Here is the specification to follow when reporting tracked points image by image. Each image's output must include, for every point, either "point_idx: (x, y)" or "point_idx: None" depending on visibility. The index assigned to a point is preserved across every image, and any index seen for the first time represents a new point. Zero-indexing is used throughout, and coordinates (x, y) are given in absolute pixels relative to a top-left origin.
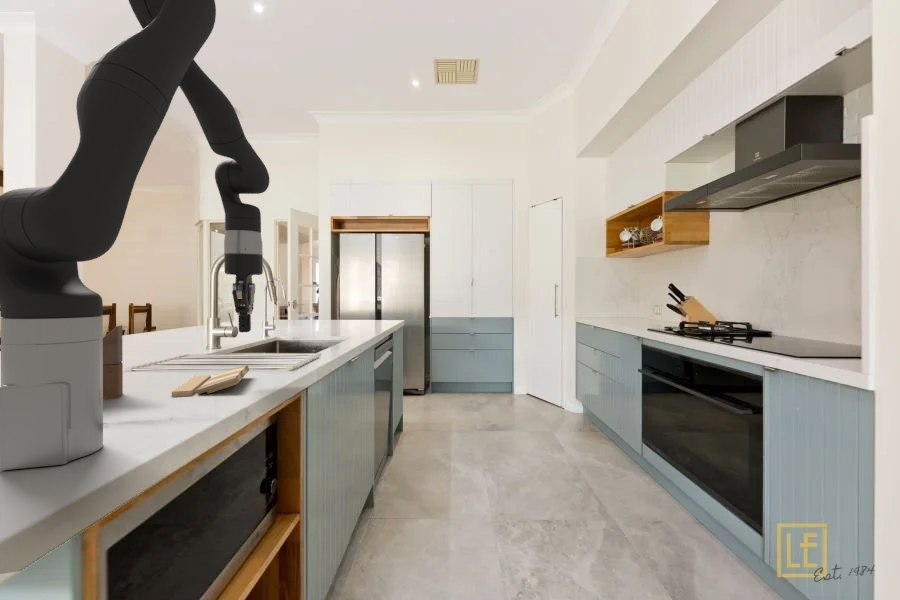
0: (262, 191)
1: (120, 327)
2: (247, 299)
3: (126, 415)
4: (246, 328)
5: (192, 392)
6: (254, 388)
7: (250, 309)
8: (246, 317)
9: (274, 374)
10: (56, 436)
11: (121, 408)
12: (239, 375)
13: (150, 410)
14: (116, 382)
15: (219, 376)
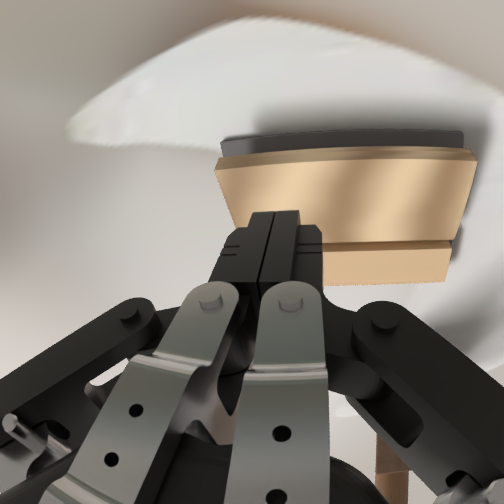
0: None
1: (396, 468)
2: (464, 427)
3: (499, 298)
4: (317, 233)
5: (439, 244)
6: (350, 105)
7: (233, 320)
8: (321, 286)
9: (130, 103)
10: None
11: (451, 320)
12: (413, 155)
13: (489, 278)
14: None
15: (325, 221)
